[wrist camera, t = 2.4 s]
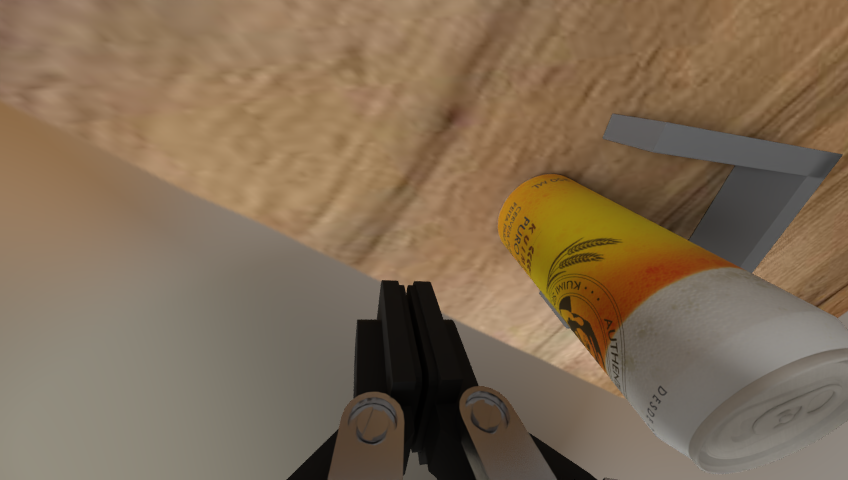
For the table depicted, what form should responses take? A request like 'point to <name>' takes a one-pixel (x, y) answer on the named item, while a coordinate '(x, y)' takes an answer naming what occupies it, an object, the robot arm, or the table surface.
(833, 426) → the beer can
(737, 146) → the corral
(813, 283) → the table surface
